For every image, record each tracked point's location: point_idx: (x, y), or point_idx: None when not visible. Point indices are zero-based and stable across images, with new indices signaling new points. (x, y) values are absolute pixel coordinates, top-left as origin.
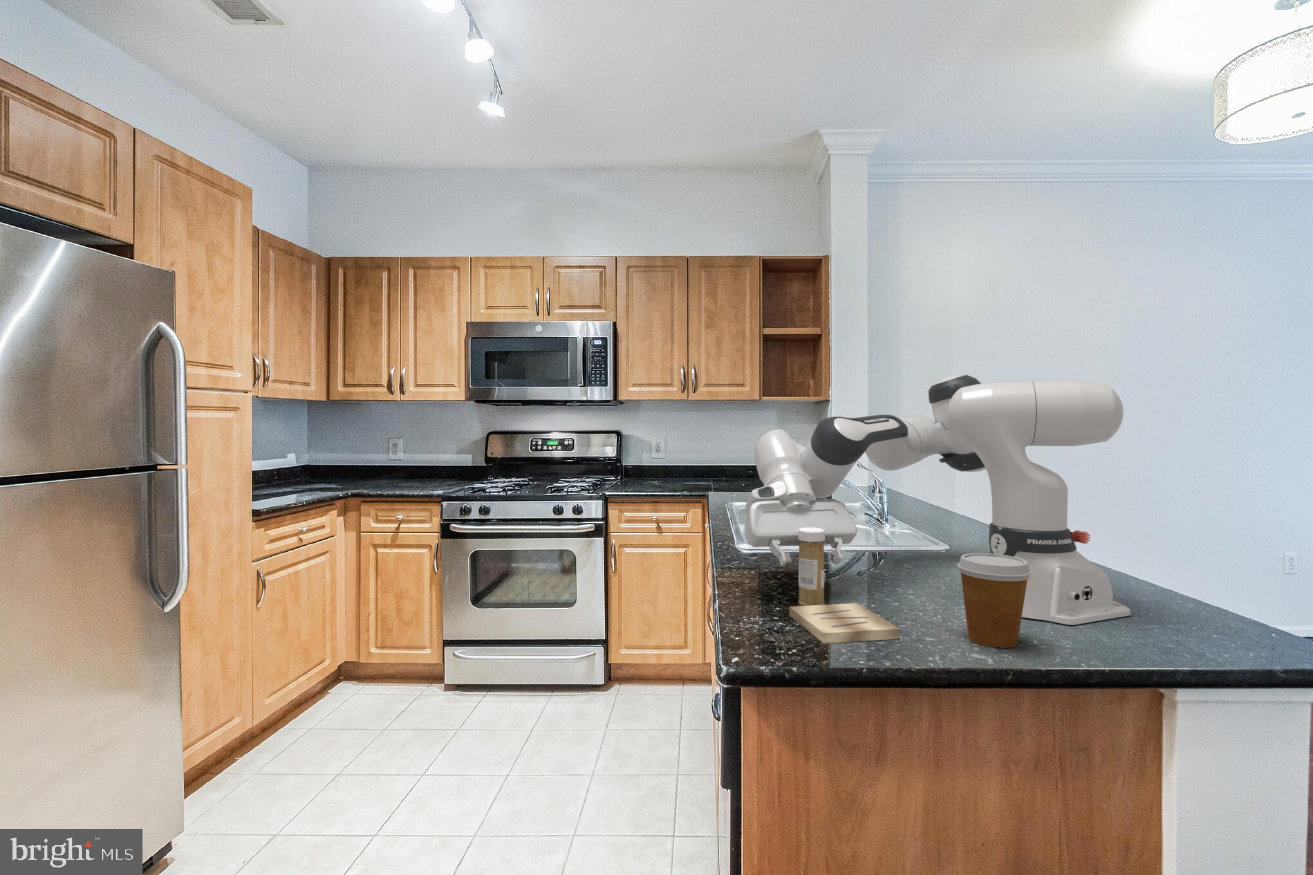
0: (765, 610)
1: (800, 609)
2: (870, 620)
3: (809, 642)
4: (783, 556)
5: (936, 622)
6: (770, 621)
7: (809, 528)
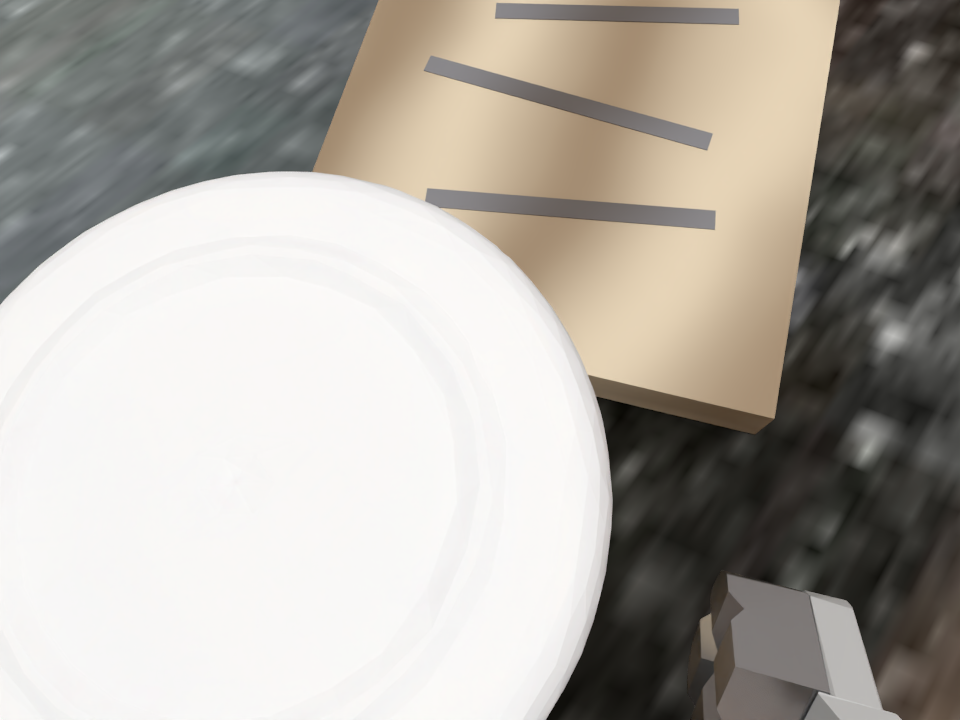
0: (864, 620)
1: (731, 334)
2: (459, 23)
3: (886, 39)
4: (850, 639)
5: (61, 37)
6: (943, 390)
7: (203, 596)
